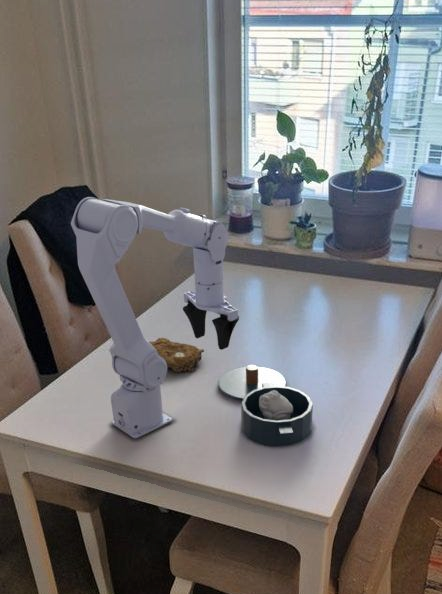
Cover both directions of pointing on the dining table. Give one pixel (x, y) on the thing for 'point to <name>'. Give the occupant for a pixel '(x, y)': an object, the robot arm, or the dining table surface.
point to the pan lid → (248, 380)
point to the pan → (277, 430)
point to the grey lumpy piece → (275, 406)
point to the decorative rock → (178, 354)
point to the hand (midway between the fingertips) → (211, 342)
